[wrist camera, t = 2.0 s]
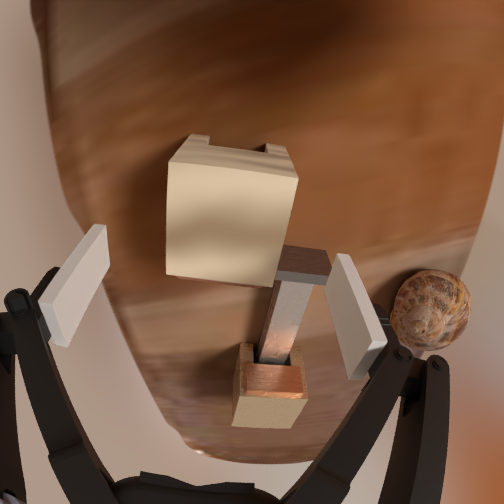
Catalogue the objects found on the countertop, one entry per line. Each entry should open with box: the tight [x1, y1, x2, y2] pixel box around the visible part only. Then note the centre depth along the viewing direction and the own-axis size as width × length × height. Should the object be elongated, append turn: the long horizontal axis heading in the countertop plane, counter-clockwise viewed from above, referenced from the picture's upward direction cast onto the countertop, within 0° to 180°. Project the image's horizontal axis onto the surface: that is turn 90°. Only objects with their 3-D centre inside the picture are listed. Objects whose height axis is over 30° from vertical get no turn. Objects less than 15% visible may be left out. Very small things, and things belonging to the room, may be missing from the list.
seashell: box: [390, 269, 471, 351], centre depth 30 cm, size 10×9×10 cm
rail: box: [232, 245, 332, 428], centre depth 32 cm, size 23×7×8 cm, turn 171°
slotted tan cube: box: [166, 134, 299, 288], centre depth 22 cm, size 9×7×8 cm
